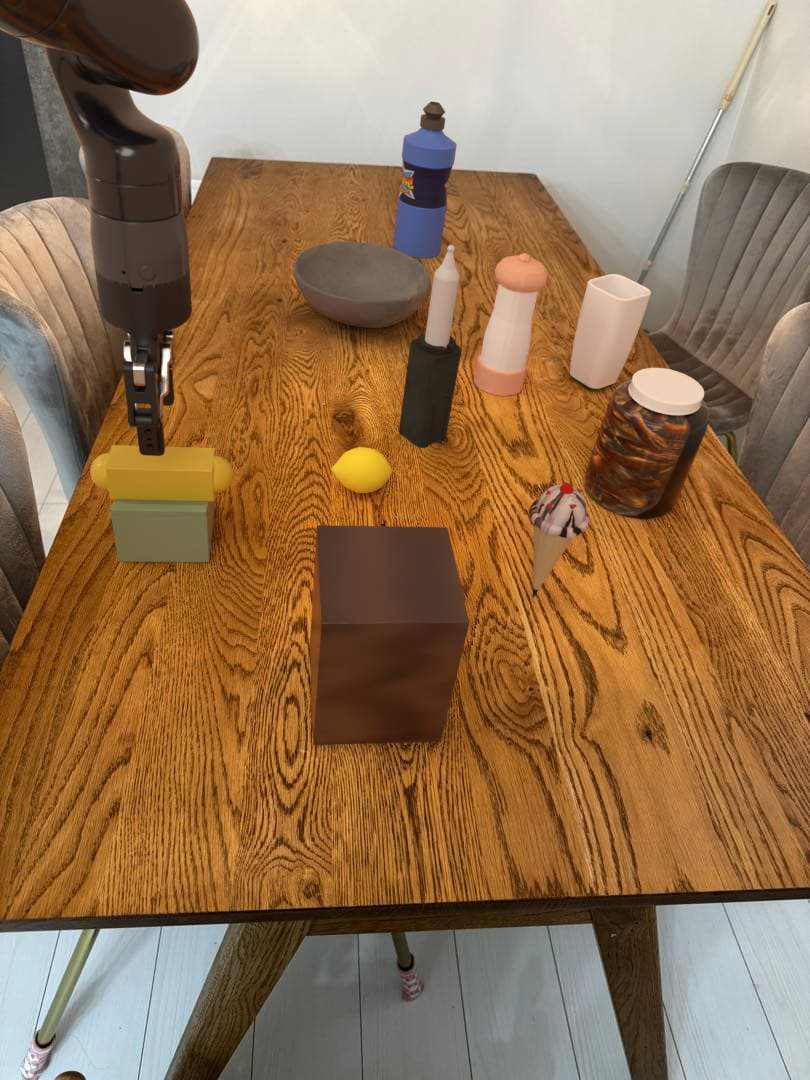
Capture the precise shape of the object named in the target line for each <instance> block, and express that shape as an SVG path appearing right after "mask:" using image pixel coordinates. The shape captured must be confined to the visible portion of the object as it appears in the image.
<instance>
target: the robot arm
mask: <svg viewBox="0 0 810 1080" xmlns="http://www.w3.org/2000/svg"><path fill="white" fill-rule="evenodd" d="M0 30H1V31H2V32H5V33H6V34H9V35H10V36H12V37H14V38H17V39H20V40H21V41H25V42H27V43H31V44H33V45H37V46H41V47H43V49H44V53H45V56H46V59H47V62H48V65H49V68H50V71H51V73H52V76H53V78H54V81H55V83H56V86H57V88H58V89H57V90H58V92H59V93H60V96H61V99H62V101H63V104H64V107H65V110H66V112H67V115H68V118H69V121H70V123H71V126H72V128H73V131H74V133H75V135H76V137H77V139H78V141H79V142H78V143H79V145H80V147H81V150H82V154H83V161H84V171H85V180H86V187H87V194H88V201H89V208H90V209H89V210H90V226H89V227H90V228H89V229H90V231H89V232H90V242H91V250H92V257H93V265H94V273H95V280H96V286H97V293H98V301H99V309H100V314H101V316H102V318H103V319H104V320H105V321H106V322H107V323H108V324H110V325H111V326H113V327H114V328H118V329H120V330H122V331H124V332H125V333H127V340H124V341H123V358H124V360H123V364H122V365H121V371H122V372H123V381H124V382H123V383H124V390H125V399H126V409H127V423H128V426H129V428H136V434H137V435H136V436H137V442H138V446H139V452H140V453H141V454H142V455H148V456H161V455H163V454H164V452H165V447H166V441H165V440H166V439H165V430H164V429H165V428H164V419H165V412H164V406H167V407H168V406H169V407H170V406H173V405H174V404H175V399H176V398H175V387H174V372H173V369H174V368H175V365H176V358H177V357H176V356H177V344H176V331H175V329H178V328H179V327H182V326H183V325H185V324H186V323H187V322H188V321H189V319H190V318H191V316H192V312H193V305H192V288H191V270H190V268H191V267H190V252H189V251H190V249H189V240H188V237H189V236H188V230H187V224H186V220H185V215H184V207H183V205H184V204H183V186H182V185H183V184H182V172H181V171H182V170H181V169H182V168H181V156H180V155H181V154H180V150H179V149H180V148H179V145H178V141H177V140H176V138H175V136H174V135H173V133H172V132H171V131H169V129H167V128H166V127H164V126H163V125H162V124H159V122H156V121H154V120H153V119H151V118H150V117H148V116H146V115H145V114H144V113H143V112H142V111H141V110H140V109H139V108H138V106H137V105H136V104H135V101H134V98H133V97H132V94H131V91H132V92H135V93H138V94H143V95H148V96H166V95H169V94H172V93H175V92H176V91H178V90H180V89H181V88H183V87H184V86H185V85H186V84H187V83H188V82H189V80H191V78H192V77H193V75H194V72H195V71H196V68H197V64H198V62H199V59H200V47H201V46H200V35H199V30H198V25H197V22H196V19H195V17H194V14H193V12H192V10H191V8H190V6H189V4H188V2H187V0H0ZM141 404H142V405H149V406H150V407H141Z"/></svg>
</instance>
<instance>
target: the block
mask: <svg viewBox="0 0 810 1080" xmlns="http://www.w3.org/2000/svg"><path fill="white" fill-rule="evenodd" d="M215 502H216V501H215V500H214V501H171V500H119V499H114V502H113V503H111V504H110V508H109V511H110V519H111V525H112V530H113V537H114V544H115V550H116V557H117V562H119V563H120V562H121V563H123V562H125V563H126V562H127V563H128V562H129V563H131V562H132V563H133V562H134V563H136V562H137V563H210V561H211V560H210V559H211V551H212V540H213V530H214V520H215V508H216V503H215Z"/></svg>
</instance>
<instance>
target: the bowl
mask: <svg viewBox="0 0 810 1080" xmlns="http://www.w3.org/2000/svg"><path fill="white" fill-rule="evenodd" d="M292 267H293V268H292V269H293V270H292V272H293V277H294V281H295V283H296V285H297V287H298V290H299V291H300V293H301V295H302V297H304V299H305V301H306V302H307V303H308V304H309V305H310V306H311V308H313V309H314V310H315V311H316V312H317V313H319V314H320V315H322V316H323V317H325V318H328V319H329V320H330V321H331V320H332V321H333V322H337V323H339V324H342V325H346V326H353V327H358V328H366V329H383V328H387V327H392V326H394V325H398V324H399V323H401V322H403V321H404V320H406V319H408V318H409V317H410V316H411V315H413V314H414V313H415V312H417V310H419V308H420V307H421V306H422V304H423V303H424V301H425V300H426V299H427V296H428V294H429V292H430V288H431V276H430V273H429V270H428V269H427V267H426V266H425V265H424V264H423V263H422V262H421V261H419V260H418V259H416V257H411V256H409V255H407V254H406V253H403V252H401V251H398V250H395V249H394V247H389V246H385V245H381V244H376V243H369V242H358V241H346V240H345V241H332V242H326V243H322V244H318V245H314V246H311V247H309V248H307V249H305V250H303V251H302V252H301V253H300V254H298V256H297V257H296V258H295V260H294V263H293V265H292Z"/></svg>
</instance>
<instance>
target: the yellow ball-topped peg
mask: <svg viewBox="0 0 810 1080" xmlns="http://www.w3.org/2000/svg"><path fill="white" fill-rule="evenodd" d="M89 472H90V478H91V481H92V482H93V483H94V485H95V486H96V487H98V488H99V489H101V490H103V491H105V492H108V494H109V500H115V499H119V500H171V501H215V496H216V495H215V494H220V493H223V492H225V491H227V490H228V489H229V488H230V487H231V486H232V483H233V482H234V477H235V472H234V469H233V465H232V464H231V462H229V460H227V459H226V458H225V457H222V456H220V455H216V448H215V447H200V446H199V447H197V446H195V447H193V446H165V452H164V454H163V455H161V456H148V455H142V454H141V453H140V452H139V445H132V444H131V445H130V444H127V445H126V444H111V447H110V451H109V452H104V453H102V454H100V455H98V456H96V458H95V459H94V460H93V461H92V463H91V465H90V470H89Z"/></svg>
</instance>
